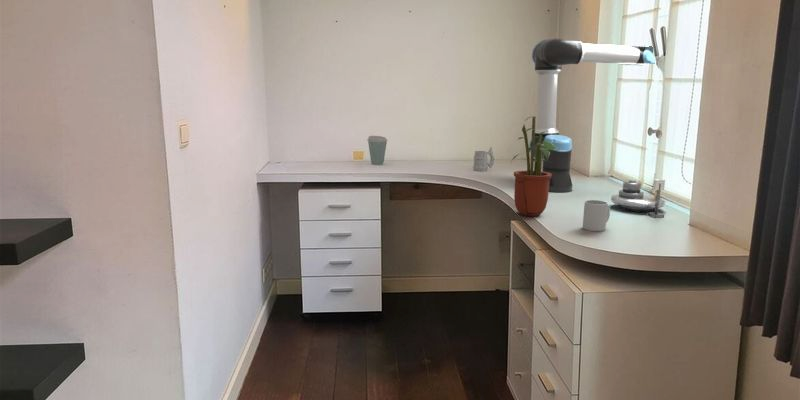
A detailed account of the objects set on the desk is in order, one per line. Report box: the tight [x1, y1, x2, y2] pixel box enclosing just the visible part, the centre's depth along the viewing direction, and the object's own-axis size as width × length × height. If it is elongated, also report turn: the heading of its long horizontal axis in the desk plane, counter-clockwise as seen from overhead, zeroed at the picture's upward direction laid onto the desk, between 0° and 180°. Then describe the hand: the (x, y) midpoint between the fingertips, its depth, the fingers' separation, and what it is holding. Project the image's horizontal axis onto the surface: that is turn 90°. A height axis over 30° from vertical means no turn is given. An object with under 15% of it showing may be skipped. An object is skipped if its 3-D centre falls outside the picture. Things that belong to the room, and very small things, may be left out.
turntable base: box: [620, 205, 653, 213], centre depth 233 cm, size 11×11×2 cm
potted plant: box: [509, 115, 558, 217], centre depth 218 cm, size 17×16×35 cm
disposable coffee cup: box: [366, 135, 388, 166], centre depth 331 cm, size 11×11×15 cm
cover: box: [618, 180, 644, 199], centre depth 236 cm, size 9×9×6 cm
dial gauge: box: [647, 178, 666, 219], centre depth 220 cm, size 4×6×13 cm
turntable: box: [610, 190, 666, 209], centre depth 232 cm, size 19×19×8 cm
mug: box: [472, 147, 495, 172], centre depth 319 cm, size 8×12×12 cm, turn 112°
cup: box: [582, 199, 611, 232], centre depth 199 cm, size 7×10×9 cm
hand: (644, 125), depth 284 cm, fingers open, 13 cm apart
